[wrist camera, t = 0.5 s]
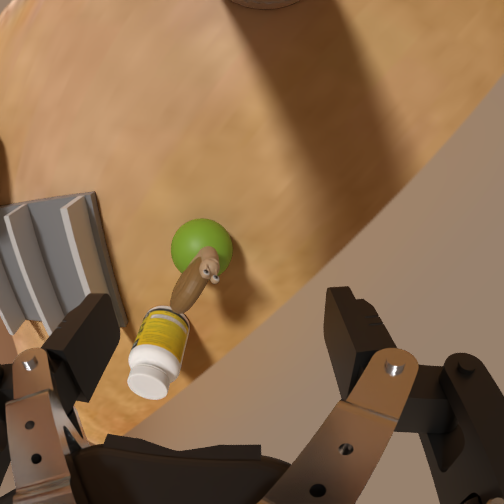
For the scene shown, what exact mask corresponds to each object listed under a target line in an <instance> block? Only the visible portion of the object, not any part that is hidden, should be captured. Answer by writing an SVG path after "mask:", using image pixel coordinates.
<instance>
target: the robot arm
mask: <svg viewBox="0 0 504 504" xmlns="http://www.w3.org/2000/svg"><path fill="white" fill-rule="evenodd" d="M231 1H232V2H235V3H237V4H240V5H242V6H246V7H250V8H254V9H276V8H281V7H285V6H289V5H291V4H293V3H295V2H298V1H299V0H231ZM324 339H325V343H326V346H327V349H328V353H329V356H330V360H331V363H332V366H333V370H334V373H335V377H336V380H337V384H338V387H339V391H340V394H341V398H342V399H341V400H340V401H339V402H338V403H337V404H336V406H335V407H334V409H333V410H332V412H331V413H330V415H329V416H328V417H327V419H326V420H325V422H324V423H323V424H322V426H321V427H320V428H319V430H318V431H317V432H316V434H315V435H314V436H313V438H312V439H311V441H310V442H309V443H308V444H307V446H306V447H305V448H304V450H303V451H302V452H301V453H300V455H299V456H298V457H297V458H296V460H295V461H294V462H293V463H292V465H291V464H289V463H287V462H285V461H282V460H280V459H276V458H272V457H268V456H262V455H261V445H217V446H211V447H205V448H198V449H192V450H185V451H175V450H171V449H168V448H165V447H162V446H159V445H156V444H154V443H151V442H148V441H145V440H142V439H138V438H131V437H124V436H118V435H112V434H107V437H106V439H105V442H104V444H99V445H93V446H89V443H88V441H87V438H86V435H85V433H84V430H83V427H82V424H81V421H80V418H79V415H78V412H77V410H76V408H75V406H74V404H75V402H76V401H82V402H87V403H89V401H90V399H91V397H92V395H93V393H94V391H95V389H96V387H97V384H98V382H99V380H100V378H101V376H102V374H103V372H104V370H105V368H106V366H107V364H108V363H109V361H110V359H111V357H112V355H113V353H114V351H115V349H116V347H117V345H118V343H119V340H120V328H119V324H118V321H117V318H116V314H115V311H114V307H113V304H112V300H111V297H110V296H109V294H107V293H89V294H88V295H87V296H86V297H85V299H84V300H83V301H82V302H81V304H80V305H78V306H77V307H76V308H74V309H73V310H71V311H70V312H69V313H68V314H67V315H66V316H65V317H64V319H63V320H62V322H60V324H59V325H58V326H57V328H56V329H55V330H54V331H53V333H52V334H51V335H50V336H49V338H48V339H47V340H46V342H45V343H44V344H43V346H42V347H41V348H31V349H28V350H25V351H23V352H22V353H20V354H19V355H18V356H17V357H16V358H15V360H14V362H13V364H5V365H1V364H0V486H1V483H2V481H3V478H4V476H5V473H6V471H7V468H8V466H9V464H10V461H11V464H12V470H13V475H14V481H15V486H16V489H14V490H12V491H10V492H9V493H7V494H5V495H4V496H2V497H0V504H355V503H356V501H357V499H358V497H359V496H360V494H361V493H362V491H363V489H364V487H365V486H366V484H367V482H368V480H369V479H370V477H371V475H372V473H373V471H374V469H375V468H376V466H377V464H378V462H379V460H380V458H381V456H382V454H383V452H384V450H385V448H386V446H387V444H388V442H389V440H390V438H391V436H392V434H393V431H395V432H413V433H419V436H420V439H421V442H422V445H423V448H424V451H425V454H426V457H427V461H428V464H429V467H430V470H431V474H432V477H433V480H434V484H435V487H436V490H437V494H438V498H439V501H440V504H504V396H503V395H502V393H501V391H500V389H499V388H498V386H497V384H496V383H495V381H494V380H493V378H492V377H491V375H490V373H489V372H488V370H487V369H486V367H485V366H484V364H483V363H482V362H481V361H480V360H479V359H478V358H477V357H475V356H473V355H470V354H467V353H455V354H452V355H450V356H449V357H448V358H447V359H446V361H445V363H444V366H442V367H441V366H426V365H419V364H418V362H417V360H416V359H415V357H414V356H413V355H412V354H410V353H409V352H407V351H405V350H402V349H398V348H397V347H396V345H395V343H394V342H393V340H392V338H391V336H390V334H389V333H388V331H387V329H386V327H385V326H384V324H383V322H382V321H381V319H380V317H378V313H377V312H376V310H375V308H374V307H373V306H372V305H371V304H369V303H368V302H367V301H365V300H364V299H357V300H356V299H355V297H354V295H353V294H352V291H351V289H350V288H349V287H348V286H347V287H346V286H345V287H330V288H327V293H326V304H325V315H324Z"/></svg>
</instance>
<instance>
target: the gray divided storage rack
mask: <svg viewBox="0 0 504 504" xmlns="http://www.w3.org/2000/svg"><path fill="white" fill-rule="evenodd" d="M89 293H107V294H109V296H110V297H111V300H112V304H113V307H114V311H115V314H116V318H117V321H118V324H119V328H120V327H126V325H127V323H128V320H127V317H126V313H125V310H124V307H123V304H122V301H121V297H120V294H119V291H118V287H117V284H116V280H115V277H114V273H113V269H112V265H111V262H110V258H109V254H108V250H107V246H106V242H105V237H104V233H103V229H102V224H101V220H100V215H99V210H98V205H97V200H96V195H95V192H87V193H79V194H71V195H64V196H57V197H51V198H44V199H38V200H32V201H26V202H20V203H14V204H9V205H3V206H0V316H1V318H2V320H3V322H4V324H5V326H6V328H7V330H8V332H9V334H10V335H14V334H15V333H16V332H17V330H18V329H19V327H20V326H21V325H22V323H23V322H24V321H25V320H36V321H42V322H43V325H44V327H45V329H46V331H47V333H48V335H49V336H50V335H51V334H52V333H53V331H54V330H55V329H56V328H57V326H58V325H59V324H60V322H62V320H63V319H64V317H65V316H66V315H67V314H68V313H69V312H70V311H71V310H73V309H74V308H76V307H77V306H78V305H80V304H81V302H82V301H83V300H84V299H85V297H86V296H87V295H88V294H89Z"/></svg>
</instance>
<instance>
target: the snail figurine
mask: <svg viewBox="0 0 504 504" xmlns="http://www.w3.org/2000/svg"><path fill="white" fill-rule="evenodd" d="M232 253H233V246H232V241H231V238H230V236H229V234H228V232H227V231H226V230H225V229H224V227H222V226H221V225H220V224H219V223H217V222H215V221H213V220H209V219H194V220H191V221H189V222H187V223H185V224H184V225H182V226H181V227H180V228H179V229H178V231H177V232H176V234H175V235H174V237H173V240H172V244H171V255H172V259H173V262H174V264H175V266H176V267H177V269H178V270H179V271H180V272H181V273H182V274H181V276H180V278H179V279H178V281H177V283H176V285H175V287H174V289H173V292H172V297H171V300H170V307H171V309H172V311H173V312H175V313H177V314H182V313H184V312H186V311H188V310H189V309H190V308H191V307H192V306H193V304H194V303H195V302H196V300H197V299H198V298H199V296H200V294H201V293H202V291H203V290H204V288H205V286H206V284H207V282H208V280H211V282H212V283H213V284H217V283H218V282H219V280H220V279H219V277H218V276H219V275H220V274H222V273H223V272H224V271H225V270H226V268H227V267H228V265H229V263H230V261H231V258H232Z"/></svg>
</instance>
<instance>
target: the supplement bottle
mask: <svg viewBox="0 0 504 504" xmlns="http://www.w3.org/2000/svg"><path fill="white" fill-rule="evenodd" d="M189 330H190V325H189V322H188V319H187V318H186V316H185V315H184V314H183V313H182V314H177V313H175V312H173V311H172V309H171V307H169V306H157V307H154V308H152V309H150V310H149V311H148V312H147V314H146V316H145V318H144V320H143V322H142V325H141V327H140V330H139V332H138V335H137V337H136V339H135V342H134V344H133V347H132V349H131V352H130V355H129V365H130V368H131V371H130V374H129V377H128V381H127V382H128V386H129V387H130V389H131V390H132V391H133V392H134V393H136V394H137V395H139V396H141V397H144V398H147V399H154V400H156V399H162V398H164V397H165V396H166V395H167V393H168V389H169V385H170V383H171V382H173V381H174V380H176V379H177V377H178V376H179V373H180V369H181V365H182V360H183V356H184V352H185V347H186V343H187V339H188V335H189Z"/></svg>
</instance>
